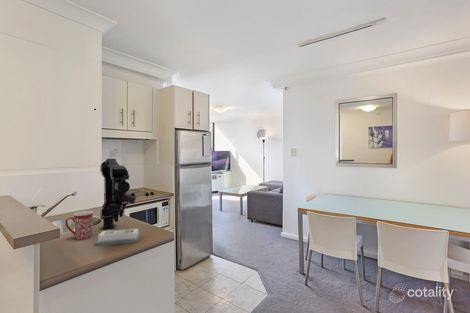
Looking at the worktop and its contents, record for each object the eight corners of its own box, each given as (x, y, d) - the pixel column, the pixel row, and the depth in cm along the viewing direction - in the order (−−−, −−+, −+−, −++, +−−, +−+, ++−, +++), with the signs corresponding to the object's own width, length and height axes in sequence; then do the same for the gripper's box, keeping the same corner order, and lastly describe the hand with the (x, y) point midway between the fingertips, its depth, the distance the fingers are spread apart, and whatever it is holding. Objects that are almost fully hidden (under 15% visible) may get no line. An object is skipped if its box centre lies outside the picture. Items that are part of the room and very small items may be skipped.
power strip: (102, 236, 121) (102, 231, 121) (138, 234, 125) (138, 228, 125) (98, 241, 115) (98, 235, 114) (136, 238, 119) (136, 232, 119)
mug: (94, 233, 130) (94, 210, 130) (91, 239, 121) (91, 214, 121) (68, 236, 125) (68, 212, 125) (63, 242, 117) (62, 216, 116)
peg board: (101, 238, 122) (101, 228, 122) (140, 235, 127) (140, 225, 127) (94, 246, 112) (94, 235, 112) (137, 242, 117) (137, 231, 117)
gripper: (131, 192, 112) (131, 223, 112) (138, 186, 130) (138, 213, 130) (106, 193, 109) (107, 225, 110) (117, 187, 127) (117, 214, 128)
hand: (119, 219), depth 119 cm, fingers open, 9 cm apart
